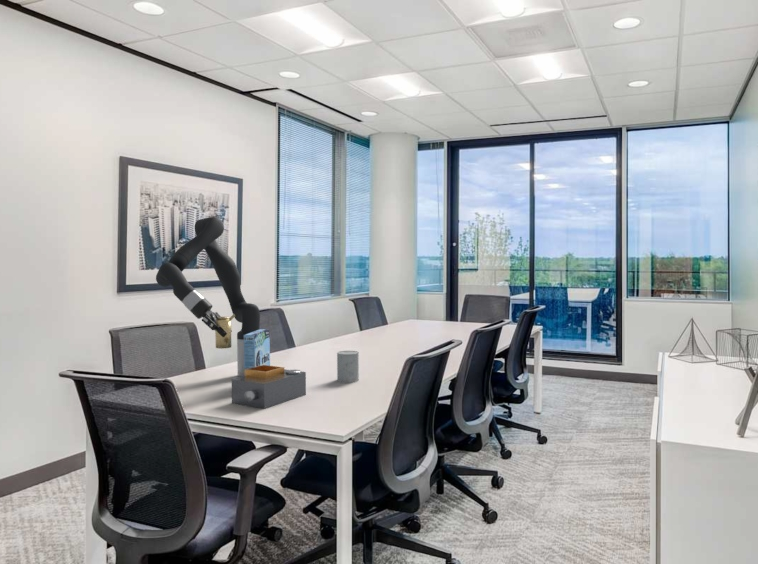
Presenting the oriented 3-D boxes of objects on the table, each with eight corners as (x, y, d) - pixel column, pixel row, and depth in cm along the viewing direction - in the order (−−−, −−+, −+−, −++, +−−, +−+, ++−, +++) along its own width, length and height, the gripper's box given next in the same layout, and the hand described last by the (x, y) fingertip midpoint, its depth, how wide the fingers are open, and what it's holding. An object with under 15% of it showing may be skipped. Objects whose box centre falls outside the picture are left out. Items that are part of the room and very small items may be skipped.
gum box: (255, 391, 228) (254, 335, 227) (243, 391, 228) (242, 335, 227) (271, 381, 247) (270, 329, 246) (259, 380, 248) (259, 328, 247)
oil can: (213, 348, 218) (213, 315, 218) (218, 345, 224) (217, 313, 224) (233, 348, 218) (232, 315, 217) (237, 345, 224) (237, 313, 223)
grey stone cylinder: (362, 379, 251) (362, 351, 250) (352, 383, 242) (352, 355, 241) (343, 377, 255) (343, 350, 254) (333, 381, 246) (333, 353, 245)
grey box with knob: (274, 389, 230) (274, 361, 230) (305, 394, 222) (305, 365, 222) (225, 404, 207) (225, 373, 207) (258, 410, 199) (258, 378, 199)
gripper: (197, 298, 213) (229, 330, 213) (209, 296, 227) (239, 325, 228) (183, 312, 213) (215, 344, 214) (196, 309, 228) (226, 338, 228)
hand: (227, 334), depth 221 cm, fingers closed on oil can, 6 cm apart
